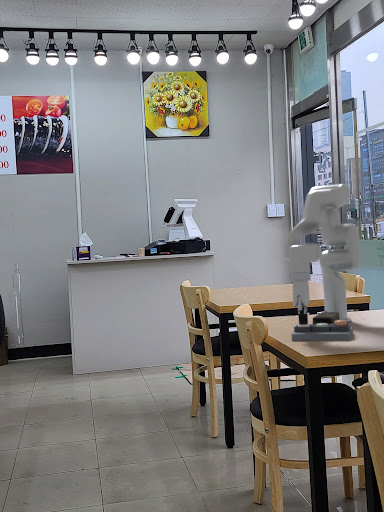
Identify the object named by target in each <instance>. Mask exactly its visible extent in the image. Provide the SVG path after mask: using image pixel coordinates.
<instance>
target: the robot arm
mask: <svg viewBox="0 0 384 512" xmlns="http://www.w3.org/2000/svg"><path fill="white" fill-rule="evenodd" d="M350 197H351V191H350V188H349V186H348V185H347V184H346V183H337V184H324V185H317V186H313V187H311V188H310V189H309V191H308V193H307V194H306V197H305V202H304V206H303V210H302V211H303V213H302V216H301V221H299V222H298V223H296V225H295V226H294V227H293V229H291V230H290V232H289V234H288V235H287V238H286V243H285V246H284V247H285V249H284V258H285V260H286V261H287V262H288V263H289V269H290V270H289V271H290V281H291V282H292V307H294V308H296V307H297V311H298V324H299V325H307V324H309V317H308V316H309V315H308V305H309V304H310V287H309V285H310V284H309V281H311V280H312V279H311V278H312V277H311V263H316V262H318V261H319V266H320V270H321V276H322V286H323V287H322V288H323V303H324V304H323V305H324V311H327V312H339V320H346V321H347V323H349V322H352V318H351V317H350V316H348V309H347V308H348V307H347V304H348V303H347V294H346V293H347V290H346V287H347V286H346V280H345V277H344V276H343V275H342V274H341V272H350V271H351V272H353V271H357V270H359V269H360V266H361V261H362V260H361V258H362V257H361V246H360V233H359V229H358V227H357V226H356V225H355V224H354V223H342V222H341V213H340V211H339V209H340V208H342V207H343V206H345V205H346V204H348V202H349V200H350ZM319 229H320V235H321V236H320V237H321V242H322V244H323V245H324V246H326V247H347V248H337V249H326V250H324V251H322V248H321V246H320V245H319V244H317V243H314V242H313V243H311V242H309V243H308V242H307V243H299V241H301V239H303V238H305V237H306V236H308V235H309V234H312V233H314V232H316V231H318V230H319Z"/></svg>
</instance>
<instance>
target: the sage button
mask: <svg viewBox="0 0 384 512" xmlns="http://www.w3.org/2000/svg"><path fill="white" fill-rule="evenodd" d="M324 326H328V324H327V323H319V324H316V327H324Z"/></svg>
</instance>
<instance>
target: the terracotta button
mask: <svg viewBox="0 0 384 512" xmlns="http://www.w3.org/2000/svg"><path fill="white" fill-rule="evenodd" d="M347 324H348V322H347V321H346V320H336V321H335V326H347Z"/></svg>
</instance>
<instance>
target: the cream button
mask: <svg viewBox="0 0 384 512" xmlns="http://www.w3.org/2000/svg"><path fill="white" fill-rule="evenodd" d="M298 327H310V323H308V324H307V325H299V323H298Z"/></svg>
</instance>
